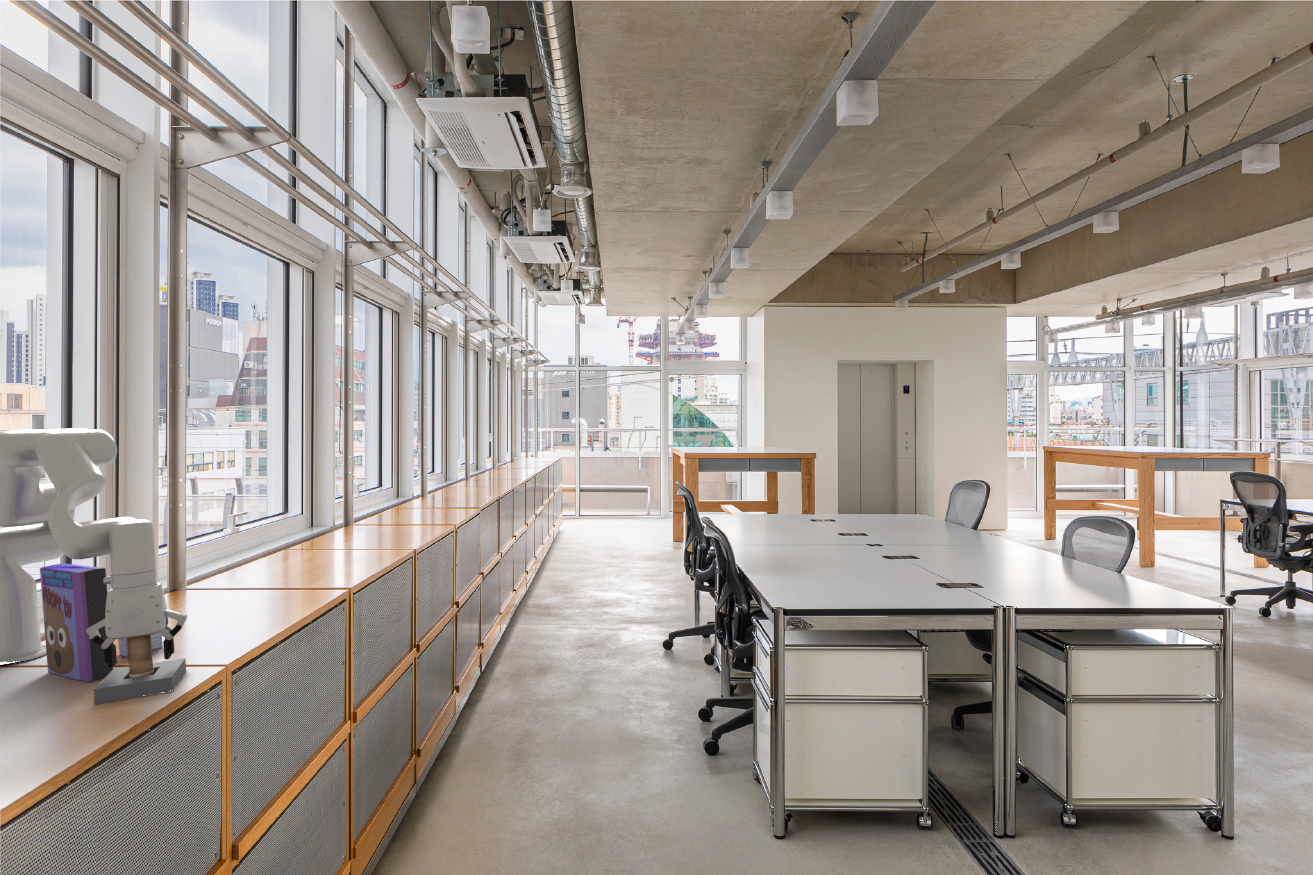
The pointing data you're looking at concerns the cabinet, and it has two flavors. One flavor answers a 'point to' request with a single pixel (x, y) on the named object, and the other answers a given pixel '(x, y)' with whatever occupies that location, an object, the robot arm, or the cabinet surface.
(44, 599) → the cereal box
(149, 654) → the peg
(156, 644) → the medicine box
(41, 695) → the cabinet surface
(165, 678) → the board
